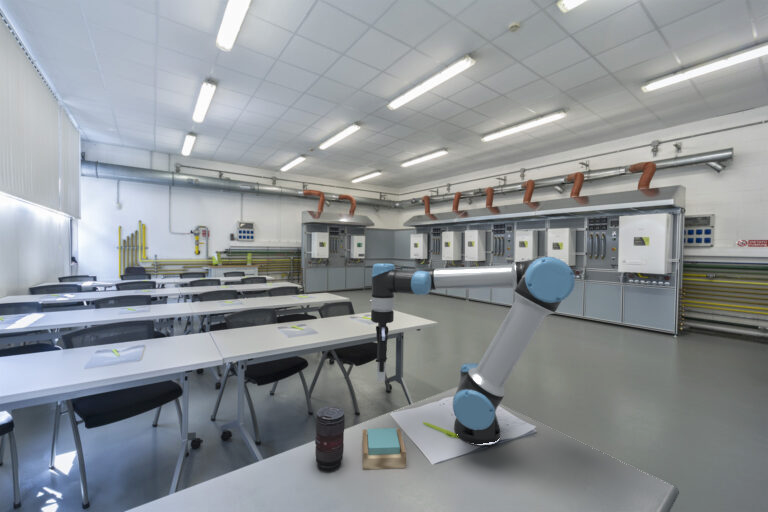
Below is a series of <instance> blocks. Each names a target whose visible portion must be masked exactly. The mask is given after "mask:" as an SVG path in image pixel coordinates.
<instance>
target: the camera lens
mask: <svg viewBox="0 0 768 512" xmlns="http://www.w3.org/2000/svg"><path fill="white" fill-rule="evenodd" d="M345 416H346V415H345V411H344V409H343V408H341V407H338V406H333V405H331V406H324V407H322V408H320V409H318V411H317V413H316V417H315V434H316V435H315V437H314V443H315V461H316V464H317V468H318V470H320V471H321V472H324V473H332V472H335V471H337V470H338V469H339V468H340V467H341V465H342V460H343V459H344V449H345V448H344V447H345V446H344V444H345V443H344V437H345V436H344V434H345V433H344V432H345V425H346V424H345V423H346V419H345V418H346V417H345Z"/></svg>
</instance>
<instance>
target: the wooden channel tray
mask: <svg viewBox="0 0 768 512" xmlns="http://www.w3.org/2000/svg"><path fill="white" fill-rule="evenodd" d="M396 431H397V436H398V440H399V445H400V454H390V455H368V437H367V429H362V440H361V441H362V442H361V445H362V470H386V469H387V470H388V469H406V465H407V452H406V451H407V450H406V446H405V443H404V438H403V435H402V431H401V428H396Z"/></svg>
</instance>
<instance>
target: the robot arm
mask: <svg viewBox="0 0 768 512" xmlns="http://www.w3.org/2000/svg"><path fill="white" fill-rule="evenodd" d="M371 272H372V273H371V299H370V300H369V302H370V303H371V311H370V312H371V313H370V320H371V322H372V323H375V324H377V325H376V326H375V331H376V335H375V337H376V346H377V347H376V358H377V359H375V363H376V381H377V382H386V362H387V360H388V357H387V349H388V337H389V336H388V335H389V327H388V325H387V324H390V323H393V322H394V314H395V313H394V312H395V311H394V309H395V294H408V295H409V294H410V295H416V296H420V295H422V296H423V295H425V296H426V295H428V294H429V293H430V291H435V290H436V291H439V290H479V289H481V290H484V289H487V290H488V289H489V290H490V289H491V290H492V289H494V290H495V289H513V290H514V291H513V292H514V296H515V300H514V303H512V306H511V307H510V309H509V311H508V313H507V314H506V316H505V318H504V320H503V321H502V323H501V324H500V327H499V328H498V330H497V332H496V333H495V335H494V337H493V339H492V340H491V342H490V344H489V345H488V347H487V349H486V351H485V352H484V355H483V356H482V358H481V360H480V361H479V363H476V362H475V363H474V362H467V363H466V362H465V363H463V364H461V366H460V370H459V373H460V378H459V379H460V380H459V383H458V386H457V389H456V392H455V393H454V396H453V399H452V410H453V413H454V414H453V415H454V416H455V420H454V425H453V427H454V428H453V430H454V433H456V434H458V436H459V437H458V436H457V437H458V438H459V439H461V441H463V442H465V441H466V443H467V442H469V443H468V444H470V443H474V444H483V443H489V442H495V441H497V440H498V439H499V438H500V436H501V435H502V433H501V432H502V431H501V427H500V424H499V419H498V417H497V414H496V410H497V409H498V408H499V405H500V404H501V402H503V401H502V400H503V399H504V398H505V395H506V391H505V388H504V385H505V384H506V382H507V380H508V379H509V377H510V376H511V374H512V372H513V370H514V369H515V367H516V365H517V364H518V362H519V361H520V359H521V357H522V356H523V354H524V353H525V351H526V349H527V347H528V345H529V344H530V342H531V340H532V339H533V337H534V335H535V334H536V333H537V331H538V329H539V327H540V326H541V324H542V323H543V320H544V319H545V317H546V316H549V315H552V314H555V313H556V312H557V310H558V308H559V307H560V305H561V303H562V301H564V300H566V299H567V298H568V297H569V296H570V295H571V293H572V292H573V291H574V288H575V285H576V279H575V278H576V277H575V274H574V272H573V269H571V267H570V265H568V264H567V263H566V262H565V261H563V260H561V259H560V258H557V257H555V256H554V257H553V256H544V257H543V256H542V257H538V258H537V257H536V258H534V259H530V260H529V259H528V260H522V261H520V260H519V261H512V263H511V264H508V265H507V264H504V265H503V264H502V265H486V266H464V267H462V266H461V267H443V268H442V267H441V268H439V267H438V268H419V269H415V270H414V269H413V270H408V269H407V270H401V269H399V270H398V269H396V266H395V264H394V263H374V264H373V266H372V271H371ZM456 434H455V435H456ZM500 439H501V438H500ZM496 444H497V443H495V444H492V445H490V446H494V445H496Z"/></svg>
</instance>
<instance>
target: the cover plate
mask: <svg viewBox="0 0 768 512" xmlns="http://www.w3.org/2000/svg"><path fill="white" fill-rule="evenodd" d="M396 429H397V428H396V427H389V428H387V427H386V428H384V427H383V428H382V427H381V428H367V429H366V430H367V437H368V455H390V454H400V445H399V440H398V436H397V431H396Z"/></svg>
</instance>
